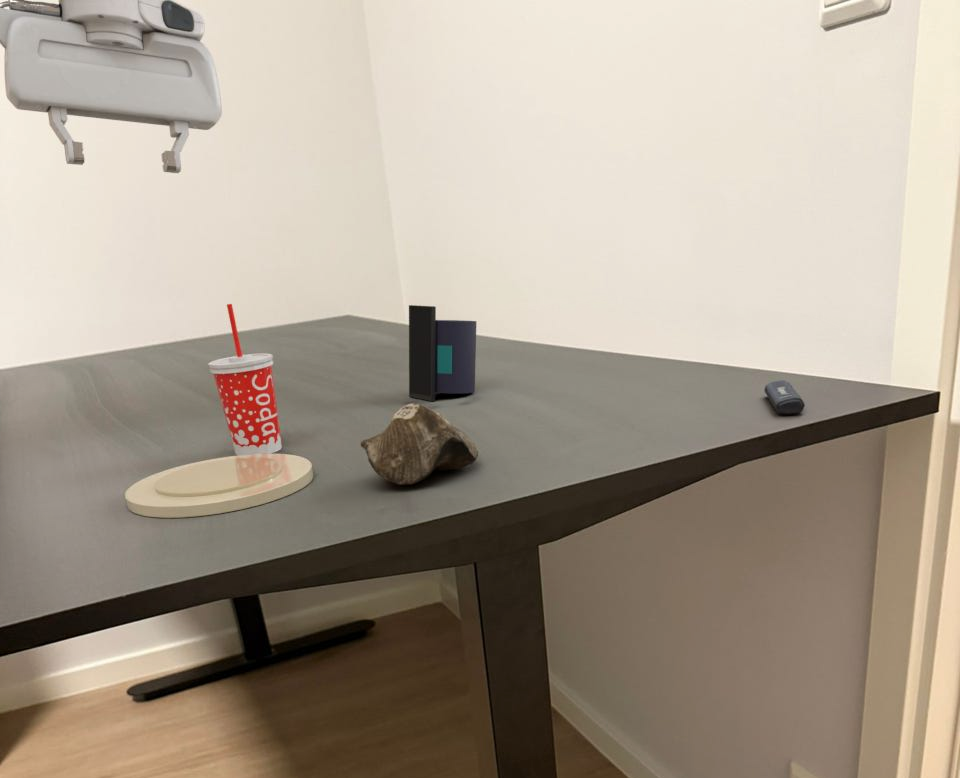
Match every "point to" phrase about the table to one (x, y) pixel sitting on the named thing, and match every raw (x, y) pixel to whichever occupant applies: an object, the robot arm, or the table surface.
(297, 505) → the table surface
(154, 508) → the plate
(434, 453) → the fossilized seashell
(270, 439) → the beverage cup
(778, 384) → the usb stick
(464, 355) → the speaker
